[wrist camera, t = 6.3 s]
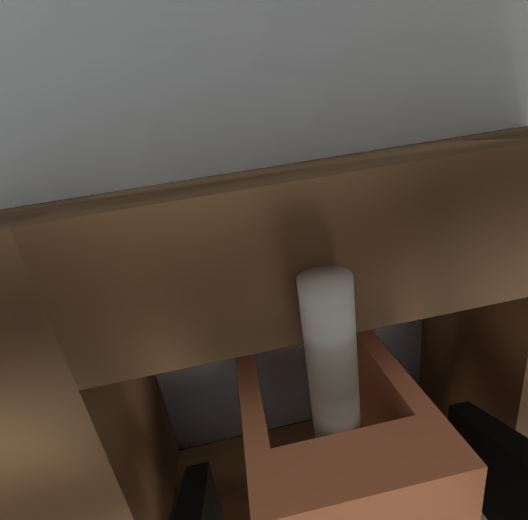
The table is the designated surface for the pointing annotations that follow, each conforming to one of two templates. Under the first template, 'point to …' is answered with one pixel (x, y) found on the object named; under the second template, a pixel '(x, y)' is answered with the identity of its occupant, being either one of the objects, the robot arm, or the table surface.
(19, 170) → the table surface
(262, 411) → the u clip
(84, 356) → the wooden frame tray
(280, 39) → the table surface
